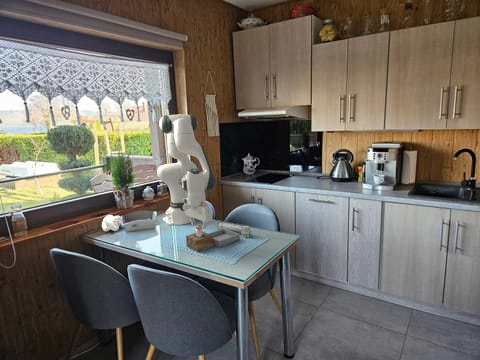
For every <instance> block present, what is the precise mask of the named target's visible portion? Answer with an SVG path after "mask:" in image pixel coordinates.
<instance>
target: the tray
mask: <svg viewBox="0 0 480 360" xmlns="http://www.w3.org/2000/svg"><path fill="white" fill-rule="evenodd" d="M208 234H210V235H213V247H217V248H219V249H220V248H223V247H225V246H226V247H227V246H228V245H231V244H233V243H237V242H239V241H241V236H240V233H237V232H236V231H231V230H227V229H224V228H223V229H218V230H214V231H211V232H208Z"/></svg>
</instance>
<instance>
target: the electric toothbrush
mask: <svg viewBox="0 0 480 360" xmlns="http://www.w3.org/2000/svg"><path fill="white" fill-rule="evenodd" d="M223 228H224V229H227V230H229V231H232V232H240V233H241V237H243V238H245V239H246V238H251V237H252V236H253V234H252V233H253V231H252V230H251V228H250V226H249V225H237V224H231V223H226V222H219V223H218V224H217V229H218V230H220V229H223Z"/></svg>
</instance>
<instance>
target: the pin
mask: <svg viewBox="0 0 480 360" xmlns="http://www.w3.org/2000/svg"><path fill="white" fill-rule="evenodd" d="M194 226H195V233H196V237H197V238H199V237H202V231H203V229H202V225H201V224H196V225H194Z"/></svg>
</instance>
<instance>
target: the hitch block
mask: <svg viewBox="0 0 480 360" xmlns="http://www.w3.org/2000/svg"><path fill="white" fill-rule="evenodd" d="M208 233H209V232H208ZM208 233H207V232H205V231H203V230H202V237H199V238H197V237H196V232H194V233H191V234H187V235H185V242H186V243H185V244H186V247H187V248H189V249H191V250H192V251H194V252H196V253H199V252H201V251H204V250H207V249H210V248H212V247H214V245H213V235H210V234H208Z"/></svg>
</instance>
